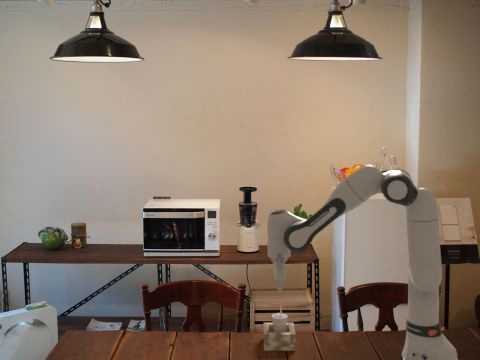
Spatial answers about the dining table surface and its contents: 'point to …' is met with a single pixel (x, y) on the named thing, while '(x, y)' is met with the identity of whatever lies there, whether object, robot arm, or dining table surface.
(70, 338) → the dining table surface
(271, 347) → the box
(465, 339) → the dining table surface
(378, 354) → the dining table surface
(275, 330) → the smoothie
